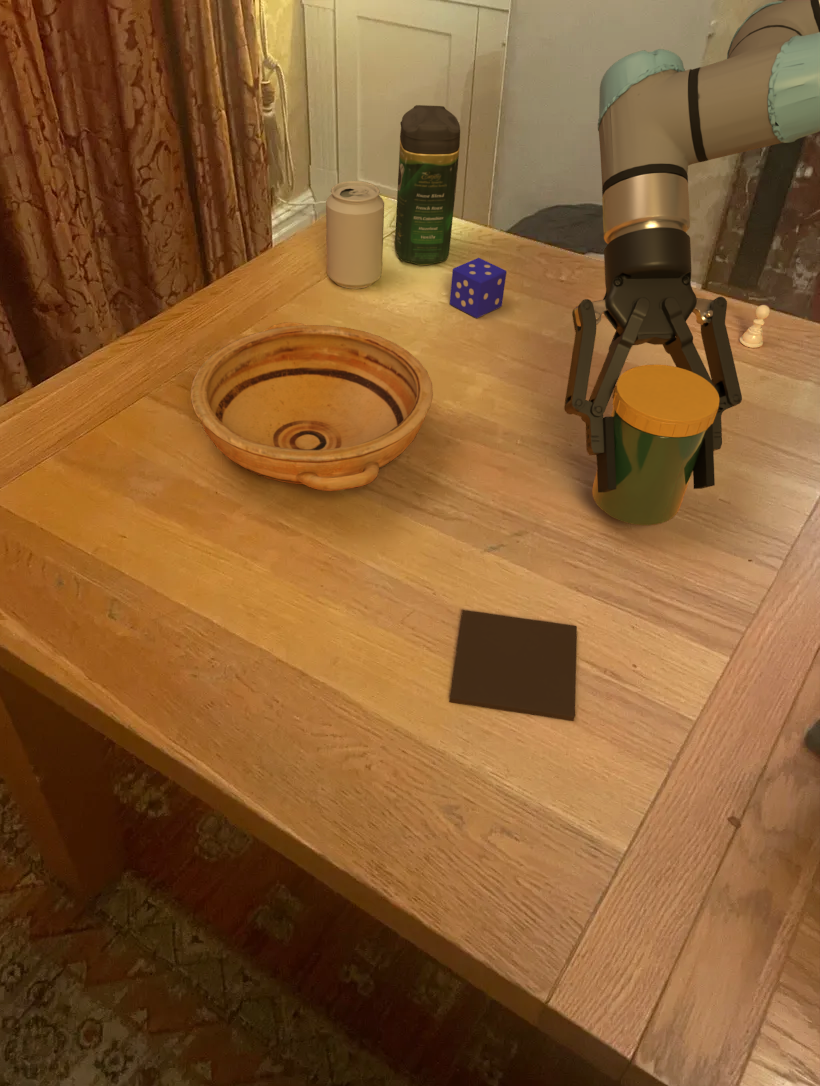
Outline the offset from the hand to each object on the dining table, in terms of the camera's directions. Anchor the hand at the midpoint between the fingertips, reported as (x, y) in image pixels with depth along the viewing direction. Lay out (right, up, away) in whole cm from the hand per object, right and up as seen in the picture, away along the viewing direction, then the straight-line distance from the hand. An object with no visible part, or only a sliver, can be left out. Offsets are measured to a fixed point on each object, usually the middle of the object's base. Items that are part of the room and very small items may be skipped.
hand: (655, 488), depth 83 cm
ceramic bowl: (-32, +6, +14) cm, 35 cm away
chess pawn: (+22, +22, +32) cm, 44 cm away
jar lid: (0, +8, -3) cm, 9 cm away
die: (-12, +28, +37) cm, 48 cm away
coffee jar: (-19, +40, +47) cm, 64 cm away
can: (-28, +34, +41) cm, 60 cm away
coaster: (-14, -16, -6) cm, 22 cm away
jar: (0, 0, +5) cm, 5 cm away
